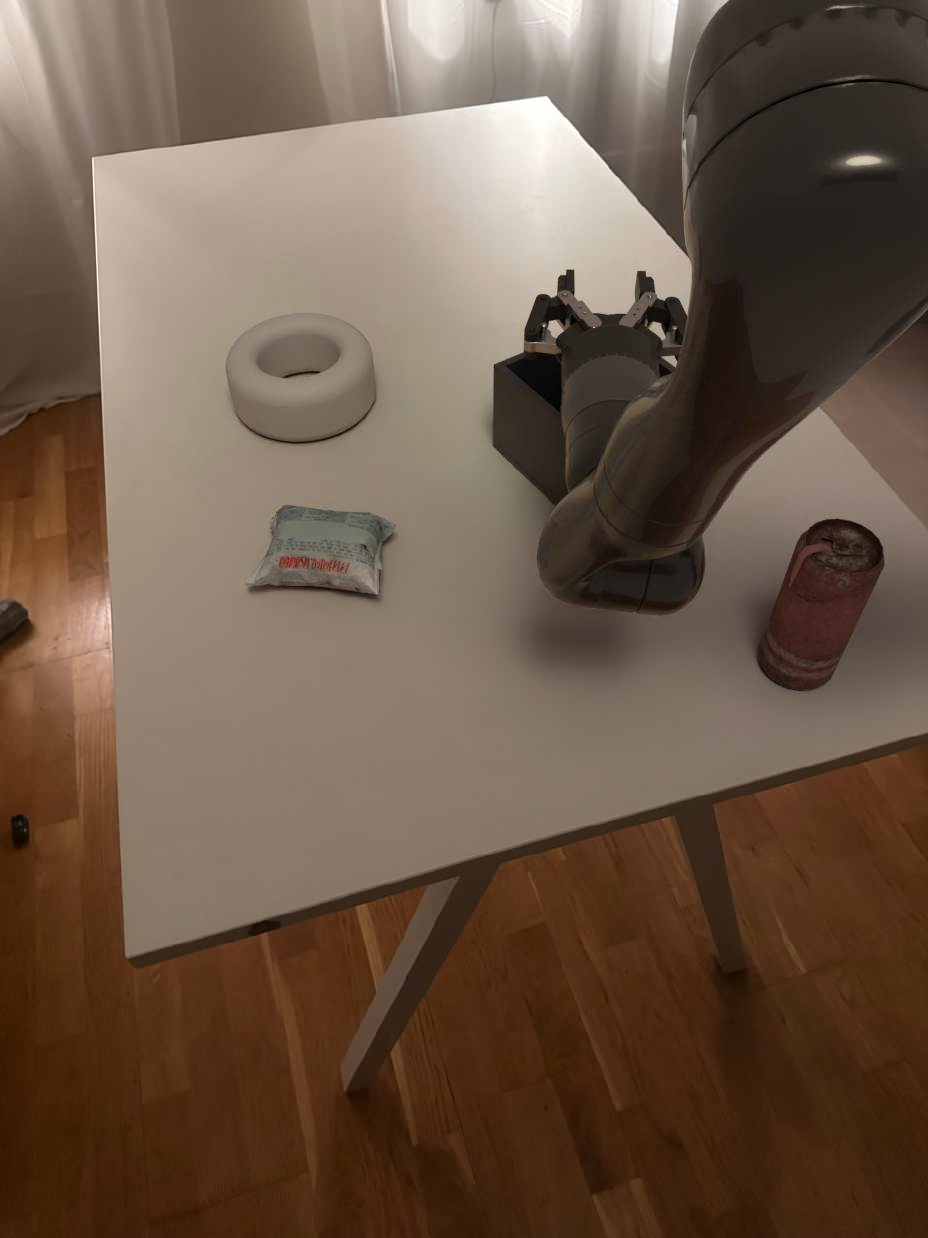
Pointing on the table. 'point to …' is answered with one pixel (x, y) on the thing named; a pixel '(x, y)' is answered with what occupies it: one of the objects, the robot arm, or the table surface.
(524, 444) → the trash bin
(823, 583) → the can
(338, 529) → the packaged food
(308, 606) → the table surface
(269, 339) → the donut shape
